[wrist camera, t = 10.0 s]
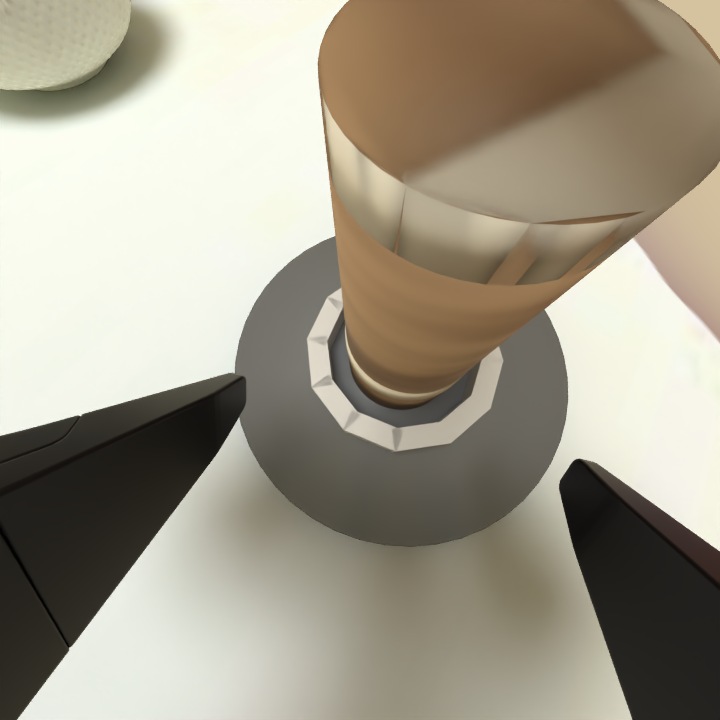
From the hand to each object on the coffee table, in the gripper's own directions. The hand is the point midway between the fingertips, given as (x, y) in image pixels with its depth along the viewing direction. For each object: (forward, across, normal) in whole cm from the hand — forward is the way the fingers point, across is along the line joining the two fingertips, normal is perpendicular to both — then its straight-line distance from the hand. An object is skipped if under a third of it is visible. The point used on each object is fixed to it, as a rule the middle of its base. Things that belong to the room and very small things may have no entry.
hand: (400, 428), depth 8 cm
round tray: (+9, 0, +3) cm, 9 cm away
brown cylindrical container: (+8, 0, +2) cm, 9 cm away
